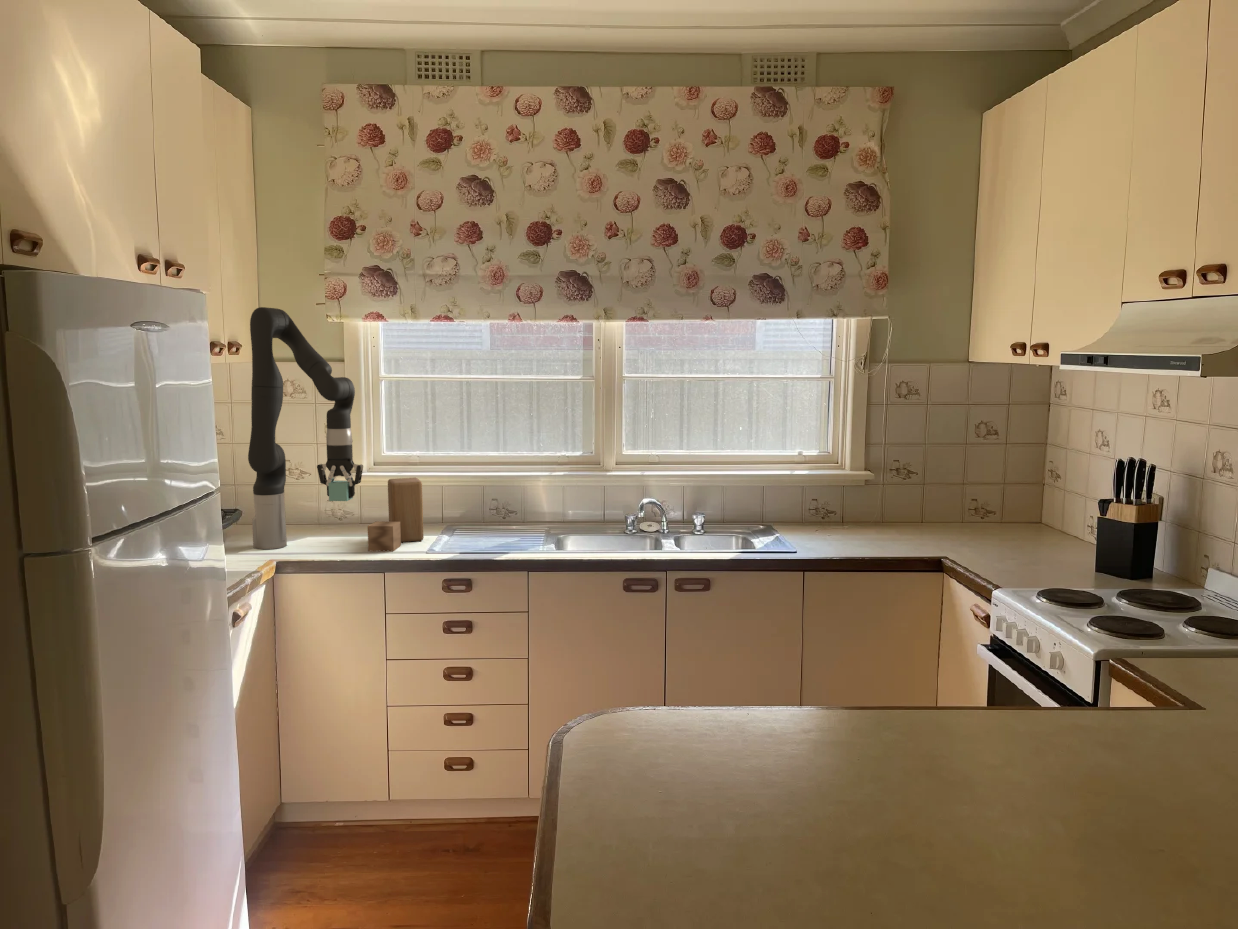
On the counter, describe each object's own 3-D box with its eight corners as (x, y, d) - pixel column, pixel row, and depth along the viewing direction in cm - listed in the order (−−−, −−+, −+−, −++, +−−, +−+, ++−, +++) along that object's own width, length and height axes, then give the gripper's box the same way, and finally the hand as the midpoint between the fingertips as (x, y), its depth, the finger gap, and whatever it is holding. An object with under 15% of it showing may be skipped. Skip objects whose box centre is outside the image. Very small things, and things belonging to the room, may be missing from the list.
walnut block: (368, 551, 288) (367, 526, 287) (376, 546, 296) (375, 521, 295) (393, 551, 288) (392, 526, 287) (400, 546, 295) (400, 521, 294)
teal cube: (329, 501, 281) (328, 483, 280) (335, 498, 286) (334, 480, 285) (346, 501, 280) (346, 483, 280) (352, 498, 286) (352, 480, 285)
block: (389, 537, 308) (387, 478, 306) (419, 535, 312) (417, 477, 309) (393, 543, 299) (391, 482, 297) (424, 541, 303) (422, 480, 300)
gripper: (311, 444, 278) (313, 499, 280) (358, 444, 277) (360, 500, 279) (320, 441, 285) (322, 495, 287) (366, 442, 284) (368, 496, 287)
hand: (341, 497), depth 283 cm, fingers closed on teal cube, 5 cm apart
